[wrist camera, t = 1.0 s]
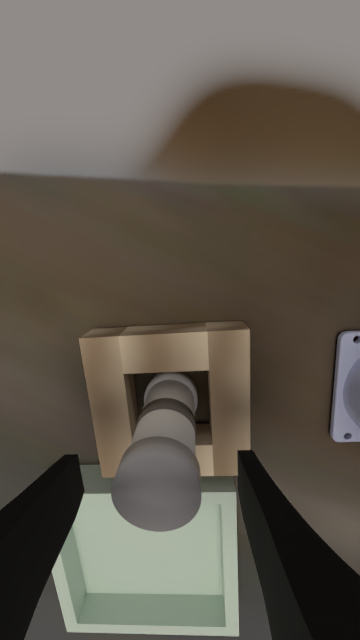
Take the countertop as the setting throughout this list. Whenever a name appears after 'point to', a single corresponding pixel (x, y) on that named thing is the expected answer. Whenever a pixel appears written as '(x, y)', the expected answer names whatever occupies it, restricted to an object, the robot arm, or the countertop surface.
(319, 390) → the countertop surface
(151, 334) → the wooden square frame
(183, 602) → the parts tray
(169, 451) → the cylinder
